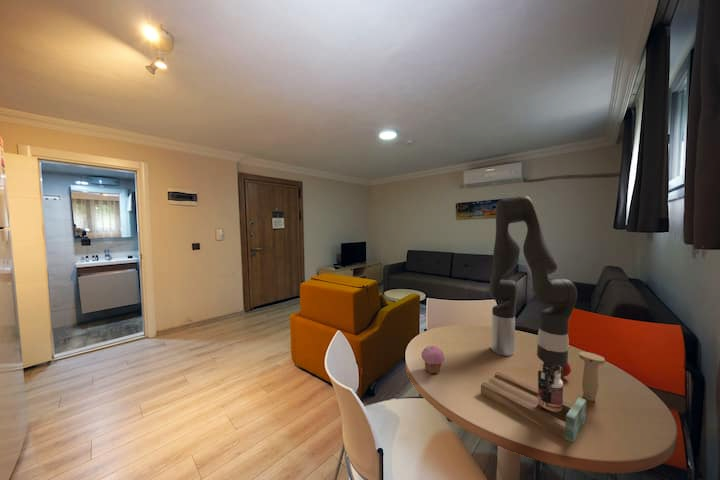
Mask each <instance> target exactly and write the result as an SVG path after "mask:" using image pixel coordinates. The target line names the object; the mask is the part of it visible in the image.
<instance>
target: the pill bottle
mask: <svg viewBox="0 0 720 480" xmlns="http://www.w3.org/2000/svg"><path fill="white" fill-rule="evenodd" d="M560 375H561V374H560V372H558V375H557V376H556V381H555V384H554V385H552V391H551V402H550V404H548V403H546V402H544V401H542V400H541V395H542V390H540V389H538V388H537V389H538V402H539V404H540V405H541V406H542V408H544V409H546V410H548V411H551V412H555V413H557V412H558V411H561V410H562V406H563V401H564V400H563V399H564V382H563V380H562V378H560ZM549 381H552V379H549ZM544 386H545V385H544Z"/></svg>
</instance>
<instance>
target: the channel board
mask: <svg viewBox="0 0 720 480" xmlns="http://www.w3.org/2000/svg"><path fill="white" fill-rule="evenodd" d="M480 394H481V395H483V396H484V397H486V398H488V399H490V400H492V401H494V402H496V403H497V404H499V405H502V406H503V407H505V408H507V409H508V410H510V411H512V412H514V413H516V414H518V415H520V416H522V417H524V418H525V419H528V420H529V421H530V422H533V423H535V424H537V425H538V426H540V427H542V428H544V429H546V430H547V431H550V432H551V433H553V434H555V435H556V436H559V437H560V438H562V439H564V440H566V441H567V442H568V441H569V443H573V444H574V441H575V439H576V438H577V436H578V435H579V432H580V431H581V430H582V428H583V427H584V424H585V423H586V411H587V399H586V398H584V397H583V398H582V397H581V396H578V398H577V399H576V400H575V402H574V403H573V404H571V403H569V402H566V401H564V400H563V406H562V410H561V411H558V412H556V413H558V414H559V415H562V417H563V416H564V417H565V421H563V420H561V419H559V418H558V417H555V416H553V415H551V414H550V413H547V412H545V411H544V410H541V409H542V408H543V407H542V406H541V405H540V404H539V402H538V388H536V387H533V386H530V385H528V384H526V383H523V382H522V381H519V380H517V379H515V378H513V377H510V376H508V375H506V374H504V373H502V372H500V371H496V372H495V373H494V376H493V377H491V378H490V379H489V380H488V381H486V382H485V381H483V382H481V384H480Z"/></svg>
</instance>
